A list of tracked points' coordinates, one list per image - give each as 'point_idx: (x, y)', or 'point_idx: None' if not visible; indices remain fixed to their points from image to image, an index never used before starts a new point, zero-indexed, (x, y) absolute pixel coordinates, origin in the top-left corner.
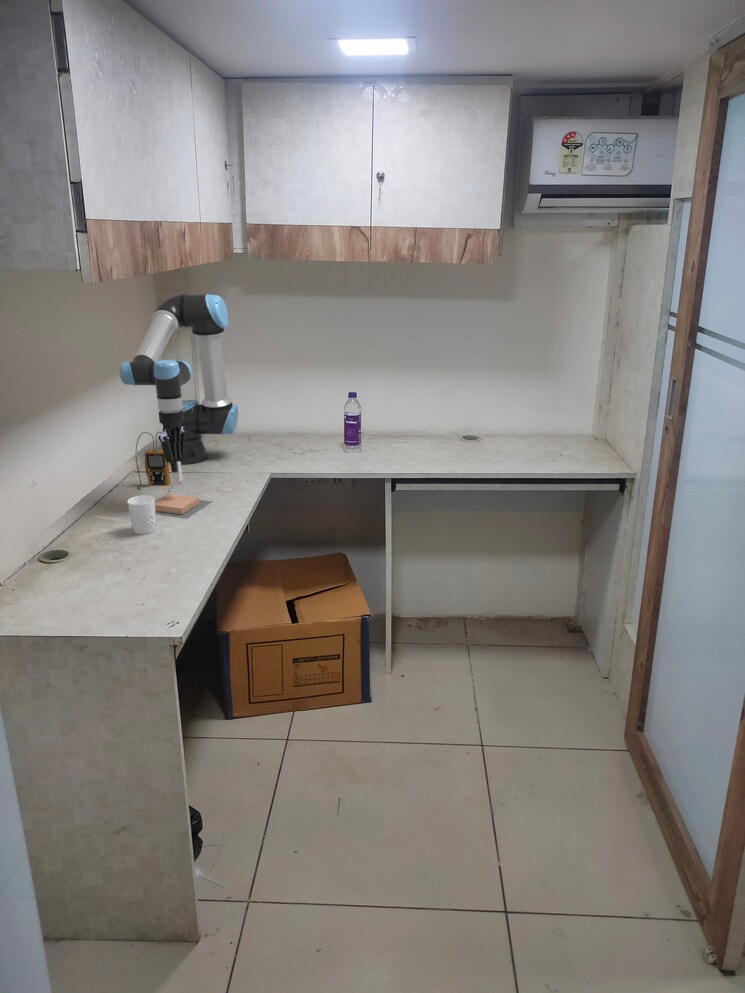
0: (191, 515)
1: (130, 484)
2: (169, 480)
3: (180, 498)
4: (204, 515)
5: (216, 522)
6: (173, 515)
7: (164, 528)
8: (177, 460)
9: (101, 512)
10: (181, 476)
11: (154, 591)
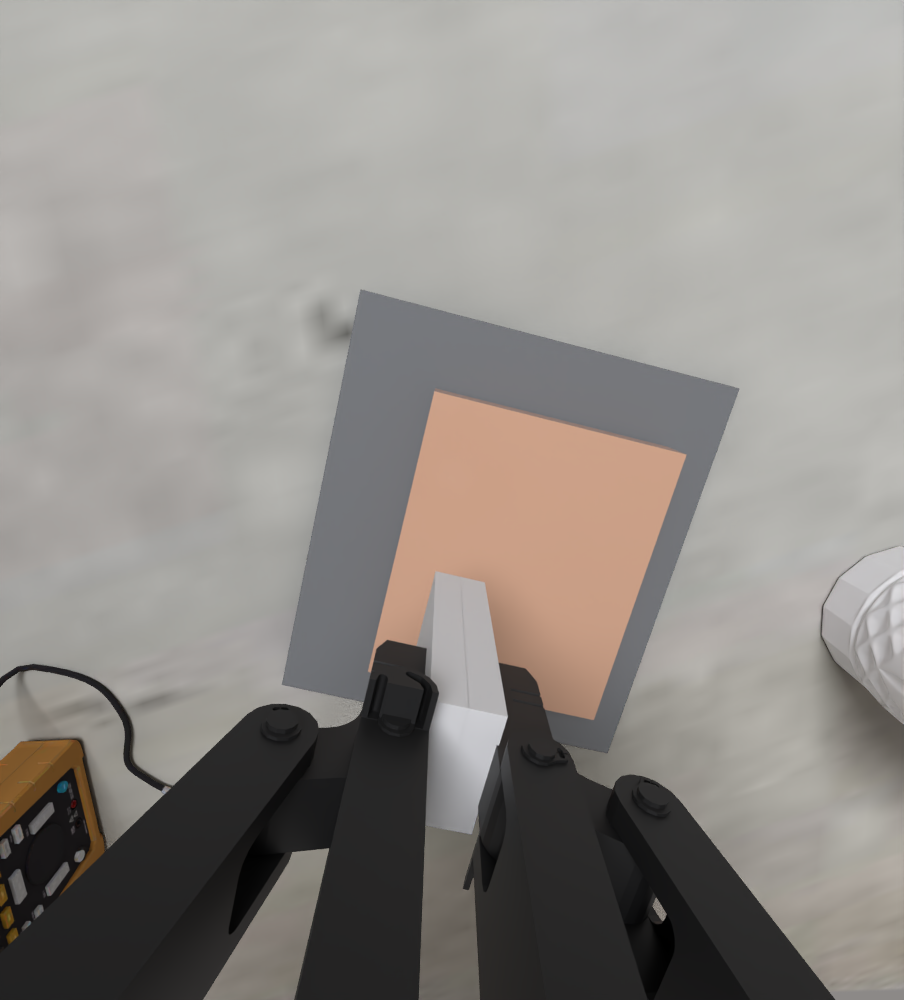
0: (675, 373)
1: None
2: (16, 761)
3: (461, 538)
4: (631, 281)
5: (784, 129)
6: (672, 508)
7: (870, 498)
8: (508, 751)
9: None
10: (449, 593)
11: None
